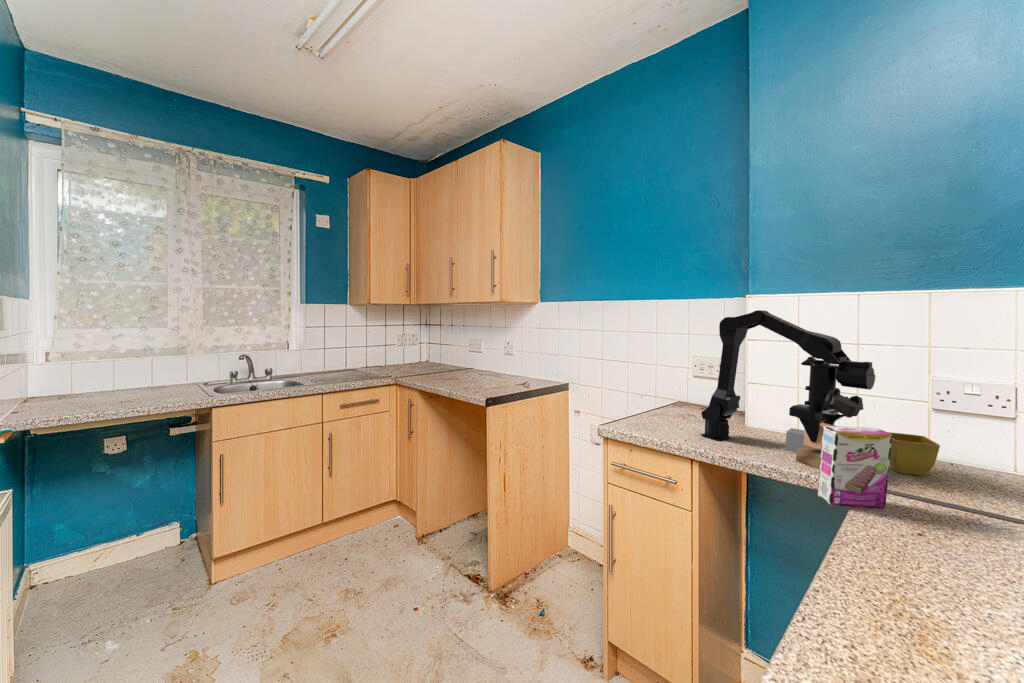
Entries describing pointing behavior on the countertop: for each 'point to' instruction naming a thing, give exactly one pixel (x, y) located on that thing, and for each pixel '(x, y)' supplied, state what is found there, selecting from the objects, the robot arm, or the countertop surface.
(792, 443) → the grey block
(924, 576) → the countertop surface
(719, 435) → the robot arm
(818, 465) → the base block
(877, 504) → the candy bar box
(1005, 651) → the countertop surface
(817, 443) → the terracotta block
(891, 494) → the countertop surface
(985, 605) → the countertop surface
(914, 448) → the flower pot
